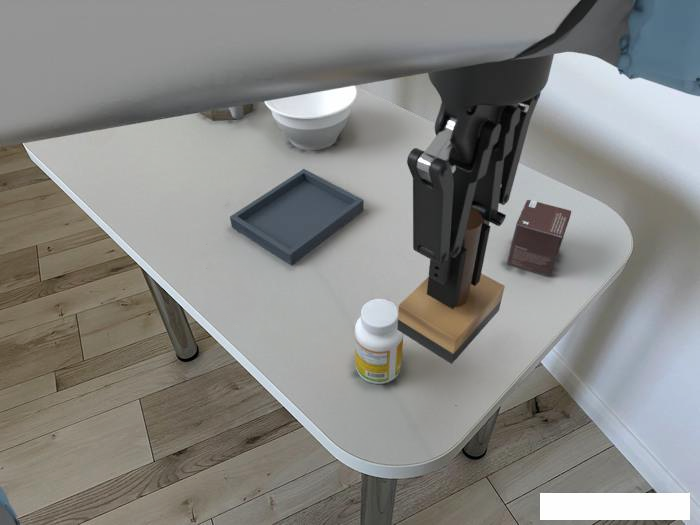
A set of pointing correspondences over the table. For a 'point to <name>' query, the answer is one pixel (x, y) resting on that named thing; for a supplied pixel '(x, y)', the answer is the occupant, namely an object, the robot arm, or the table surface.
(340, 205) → the tray
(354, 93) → the bowl
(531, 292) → the table surface
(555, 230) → the box
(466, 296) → the peg on wooden base
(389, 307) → the supplement bottle
